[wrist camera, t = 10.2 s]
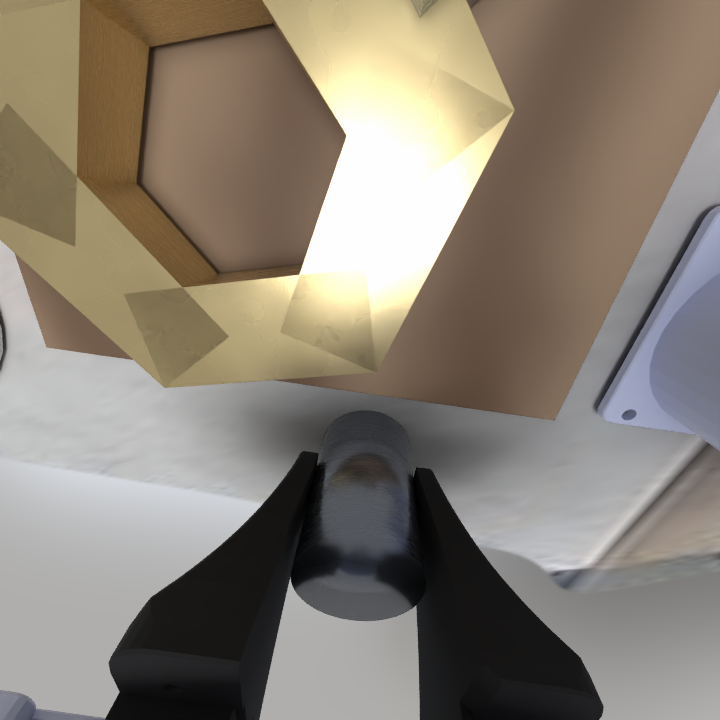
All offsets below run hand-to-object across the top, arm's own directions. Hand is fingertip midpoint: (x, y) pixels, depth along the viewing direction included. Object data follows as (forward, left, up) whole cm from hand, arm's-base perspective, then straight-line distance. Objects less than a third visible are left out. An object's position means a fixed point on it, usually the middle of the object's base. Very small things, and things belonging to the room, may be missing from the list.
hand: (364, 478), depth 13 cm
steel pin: (0, 0, -2) cm, 2 cm away
